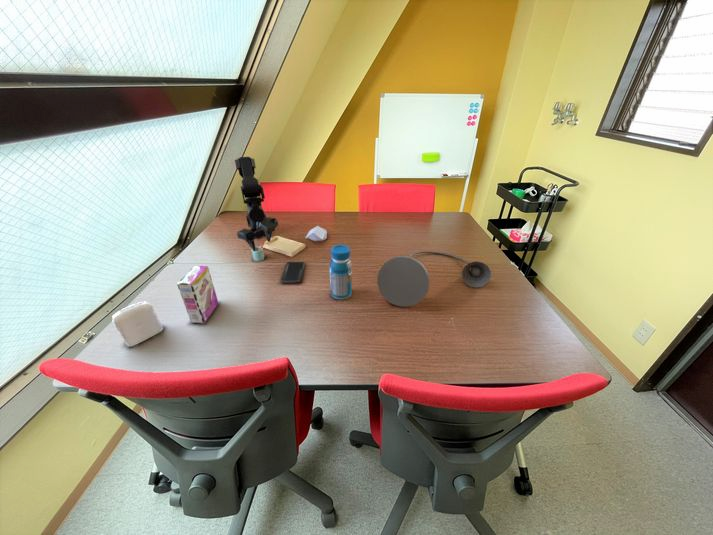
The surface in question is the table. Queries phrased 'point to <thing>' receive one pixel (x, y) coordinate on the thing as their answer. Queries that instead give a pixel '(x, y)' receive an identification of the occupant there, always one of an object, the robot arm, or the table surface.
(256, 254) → the cup
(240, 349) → the table surface
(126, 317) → the photo printer
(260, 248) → the red thin rounded piece
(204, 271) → the candy bar box
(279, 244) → the tray
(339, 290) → the beverage bottle
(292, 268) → the phone
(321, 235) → the crumpled paper
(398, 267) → the desk lamp
